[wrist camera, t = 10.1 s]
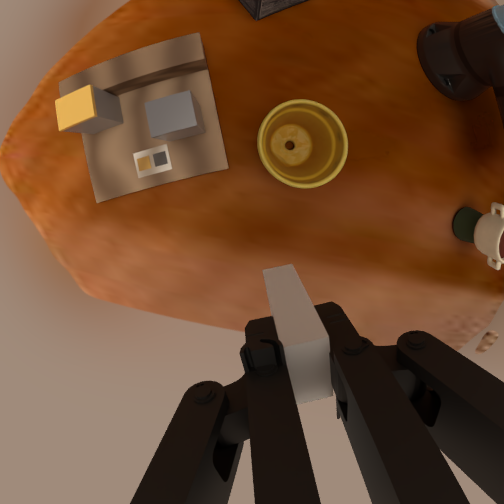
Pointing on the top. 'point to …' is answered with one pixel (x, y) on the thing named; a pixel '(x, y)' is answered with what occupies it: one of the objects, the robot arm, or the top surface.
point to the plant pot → (302, 143)
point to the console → (136, 123)
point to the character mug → (483, 232)
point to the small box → (267, 6)
